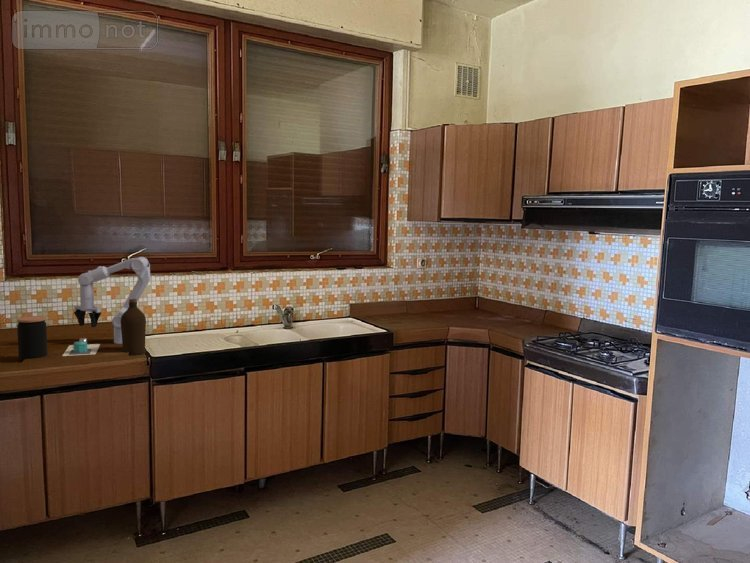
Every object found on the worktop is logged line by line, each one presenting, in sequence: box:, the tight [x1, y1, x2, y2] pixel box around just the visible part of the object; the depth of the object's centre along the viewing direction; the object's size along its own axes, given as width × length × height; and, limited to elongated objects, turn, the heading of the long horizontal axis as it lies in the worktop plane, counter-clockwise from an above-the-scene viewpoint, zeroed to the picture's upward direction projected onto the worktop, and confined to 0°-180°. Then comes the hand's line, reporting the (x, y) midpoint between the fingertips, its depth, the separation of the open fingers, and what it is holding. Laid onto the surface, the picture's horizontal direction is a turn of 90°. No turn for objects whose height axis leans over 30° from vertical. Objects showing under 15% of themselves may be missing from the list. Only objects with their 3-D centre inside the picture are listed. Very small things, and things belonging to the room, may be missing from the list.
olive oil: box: [121, 299, 147, 356], centre depth 255 cm, size 11×11×25 cm
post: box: [79, 337, 88, 343], centre depth 258 cm, size 3×3×4 cm
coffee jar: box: [16, 315, 49, 363], centre depth 240 cm, size 11×11×18 cm
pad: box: [69, 349, 92, 356], centre depth 249 cm, size 8×8×1 cm
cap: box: [72, 340, 88, 353], centre depth 249 cm, size 5×5×4 cm
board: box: [62, 343, 101, 357], centre depth 254 cm, size 13×21×2 cm, turn 21°
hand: (87, 326), depth 267 cm, fingers open, 7 cm apart
